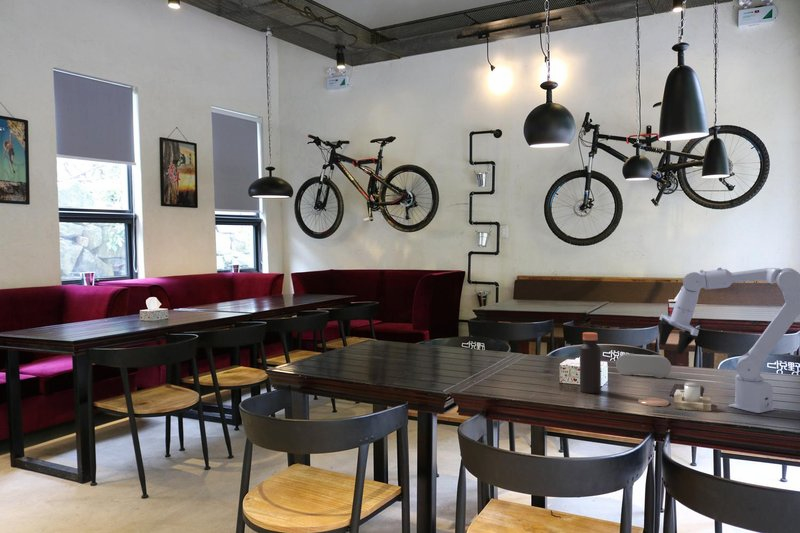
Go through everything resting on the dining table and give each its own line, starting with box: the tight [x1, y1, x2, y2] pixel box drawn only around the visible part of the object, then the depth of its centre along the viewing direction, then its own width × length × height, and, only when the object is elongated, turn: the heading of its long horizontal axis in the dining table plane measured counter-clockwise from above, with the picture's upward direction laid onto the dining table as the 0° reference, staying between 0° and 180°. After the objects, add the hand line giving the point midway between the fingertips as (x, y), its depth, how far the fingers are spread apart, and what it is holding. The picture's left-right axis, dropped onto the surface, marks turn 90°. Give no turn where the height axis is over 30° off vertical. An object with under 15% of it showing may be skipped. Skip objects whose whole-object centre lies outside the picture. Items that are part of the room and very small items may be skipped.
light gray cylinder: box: [683, 381, 701, 402], centre depth 191 cm, size 4×4×7 cm
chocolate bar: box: [669, 383, 704, 398], centre depth 209 cm, size 9×1×18 cm
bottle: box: [579, 331, 602, 394], centre depth 211 cm, size 7×7×20 cm
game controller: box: [615, 352, 672, 379], centre depth 235 cm, size 20×2×8 cm, turn 63°
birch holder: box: [673, 395, 712, 412], centre depth 191 cm, size 10×10×2 cm
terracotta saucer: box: [637, 396, 670, 407], centre depth 195 cm, size 9×9×1 cm
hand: (670, 348), depth 198 cm, fingers open, 7 cm apart
